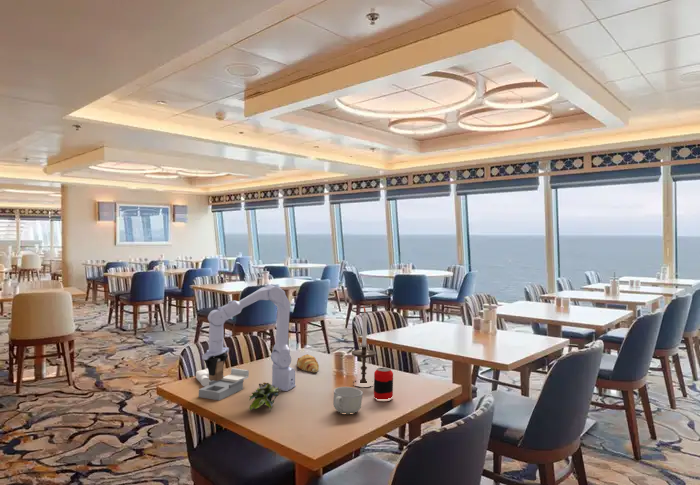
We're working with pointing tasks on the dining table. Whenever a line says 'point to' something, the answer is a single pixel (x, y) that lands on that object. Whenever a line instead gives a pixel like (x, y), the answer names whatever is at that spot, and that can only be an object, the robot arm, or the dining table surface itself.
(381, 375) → the soda can
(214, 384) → the housing
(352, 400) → the teacup
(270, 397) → the green leafy plant
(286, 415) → the dining table surface
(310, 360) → the croissant
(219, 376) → the block
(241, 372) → the lid
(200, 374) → the binoculars
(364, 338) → the candlestick
